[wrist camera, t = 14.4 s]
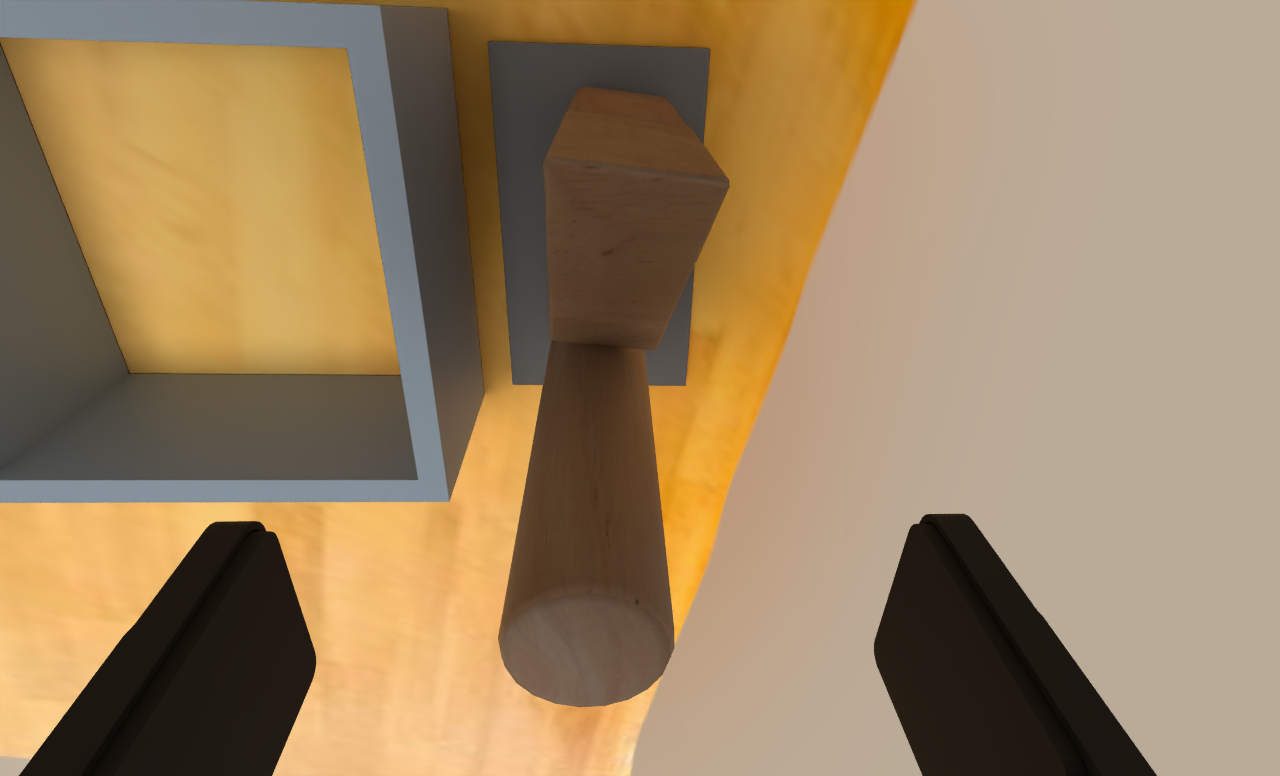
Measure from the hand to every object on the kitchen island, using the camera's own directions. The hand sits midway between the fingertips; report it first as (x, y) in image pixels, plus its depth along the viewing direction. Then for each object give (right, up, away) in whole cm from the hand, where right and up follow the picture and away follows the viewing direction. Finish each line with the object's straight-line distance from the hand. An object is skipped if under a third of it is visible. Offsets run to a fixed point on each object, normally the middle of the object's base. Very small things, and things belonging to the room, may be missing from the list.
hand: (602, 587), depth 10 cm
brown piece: (-1, +10, +17) cm, 20 cm away
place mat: (-1, +10, +18) cm, 20 cm away
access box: (-15, +10, +17) cm, 25 cm away
